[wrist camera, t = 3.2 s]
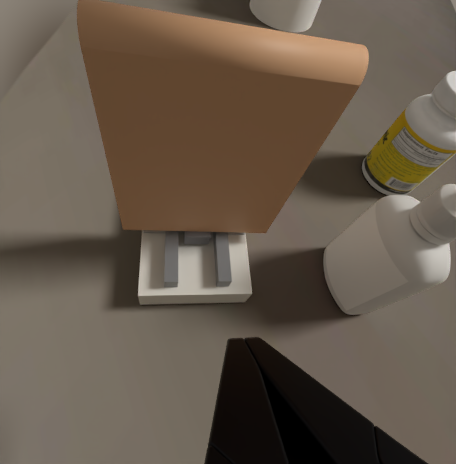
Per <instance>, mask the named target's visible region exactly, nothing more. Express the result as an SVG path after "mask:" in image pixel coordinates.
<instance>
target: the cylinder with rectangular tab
mask: <svg viewBox="0 0 456 464" xmlns="http://www.w3.org/2000/svg"><path fill="white" fill-rule="evenodd" d="M320 3H321V0H250V3H249V5H250V10H251V11H252V13H253V14H254V15H255V17H256V18H257V19H259V20H260V21H262V22H263V23H265V24H266V25H268V26H270V27H273V28H275V29H278V30H282V31H287V32H302V31H305V30H307V29H309V28H310V27H311V25H312V23H313V20H314V18H315V15H316V13H317V10H318V8H319V5H320Z"/></svg>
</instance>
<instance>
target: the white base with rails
mask: <svg viewBox="0 0 456 464" xmlns="http://www.w3.org/2000/svg"><path fill="white" fill-rule="evenodd" d="M210 235H211V238H210V241H209V244H184V231H158V230H142V241H141V256H140V271H139V286H138V299H139V303H140V305H149V304H191V303H233V302H245V301H246V300H247V299H248V298H249V297H250V296H251V295H252V287H251V278H250V269H249V260H248V252H247V243H246V234H245V233H239V232H210Z"/></svg>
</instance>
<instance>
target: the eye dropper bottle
mask: <svg viewBox="0 0 456 464" xmlns="http://www.w3.org/2000/svg"><path fill="white" fill-rule="evenodd" d="M455 239H456V185H455V184H445V185H443V186H441V187H440V188H439V189H437V190H436V191H435V192H433V193H432V194H431V195H429V196H428V197H427V198H425V199H424V200H423V201H421V202H419V201H418V200H416V199H415V198H413V197H410V196H407V195H389V196H386V197H383V198H381V199H379V200H378V201H377V202H375V203H374V204H373V205H372V206H371V207H370V208H368V209H367V210H366V211H365V212H364V213H363V214H362V215H361V216H359V217H358V218H357V219H356V220H355V221H354V222H353V223H352V224H350V225H349V226H348V227H347V228H346V229H345V230H344V231H343V232H342V233H341V234H339V235H338V236H337V237H336V238H335V239H334V240H333V241H332V242H331V243H330V244H328V245H327V247H326V248H325V251H324V257H323V267H324V274H325V279H326V282H327V285H328V288H329V290H330V292H331V294H332V296H333V298H334V300H335V301H336V303H337V304H338V306H339V307H340V309H341V310H342V311H343V312H345V313H346V314H349V315H358V314H367V313H370V312H373V311H375V310H378V309H380V308H383V307H385V306H388V305H390V304H393V303H395V302H398V301H400V300H403V299H405V298H408V297H410V296H412V295H415V294H417V293H420V292H422V291H425V290H427V289H429V288H432V287H434V286H436V285H438V284H440V283H442V282H443V281H445V280H446V279H447V277H448V275H449V272H450V246H449V242H451V241H453V240H455Z"/></svg>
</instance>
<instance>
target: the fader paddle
mask: <svg viewBox="0 0 456 464" xmlns="http://www.w3.org/2000/svg"><path fill="white" fill-rule="evenodd" d="M77 25H78V34H79V41H80V46H81V50H82V54H83V59H84V63H85V67H86V72H87V76H88V80H89V85H90V89H91V93H92V98H93V102H94V106H95V111H96V115H97V119H98V124H99V128H100V132H101V137H102V141H103V145H104V149H105V154H106V158H107V162H108V167H109V171H110V175H111V180H112V184H113V188H114V193H115V197H116V201H117V206H118V210H119V214H120V219H121V223H122V227H123V230H158V231H184V244H209V241H210V238H211V235H210V232H239V233H266V232H267V230H268V229H269V227H270V226H271V224H272V223H273V221H274V219H275V218H276V216H277V215H278V213H279V212H280V210H281V208H282V207H283V205H284V204H285V202H286V201H287V199H288V197H289V196H290V194H291V193H292V191H293V190H294V188H295V187H296V185H297V183H298V182H299V180H300V179H301V177H302V176H303V174H304V172H305V171H306V169H307V168H308V166H309V165H310V163H311V161H312V160H313V158H314V157H315V155H316V154H317V152H318V151H319V149H320V147H321V146H322V144H323V143H324V141H325V140H326V138H327V136H328V135H329V133H330V132H331V130H332V129H333V127H334V126H335V124H336V122H337V121H338V119H339V118H340V116H341V115H342V113H343V111H344V110H345V108H346V107H347V105H348V104H349V102H350V100H351V99H352V97H353V96H354V94H355V93H356V91H357V90H358V88H359V86H360V85H361V83H362V81H363V79H364V77H365V74H366V71H367V67H368V60H369V55H368V50H367V48H366V47H365V46H364V45H360V44H354V43H348V42H342V41H336V40H330V39H324V38H318V37H312V36H306V35H301V34H295V33H289V32H283V31H277V30H271V29H265V28H259V27H253V26H247V25H241V24H235V23H230V22H224V21H218V20H212V19H206V18H200V17H194V16H188V15H182V14H176V13H170V12H165V11H159V10H153V9H147V8H141V7H135V6H129V5H123V4H117V3H111V2H105V1H99V0H78V6H77Z"/></svg>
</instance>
